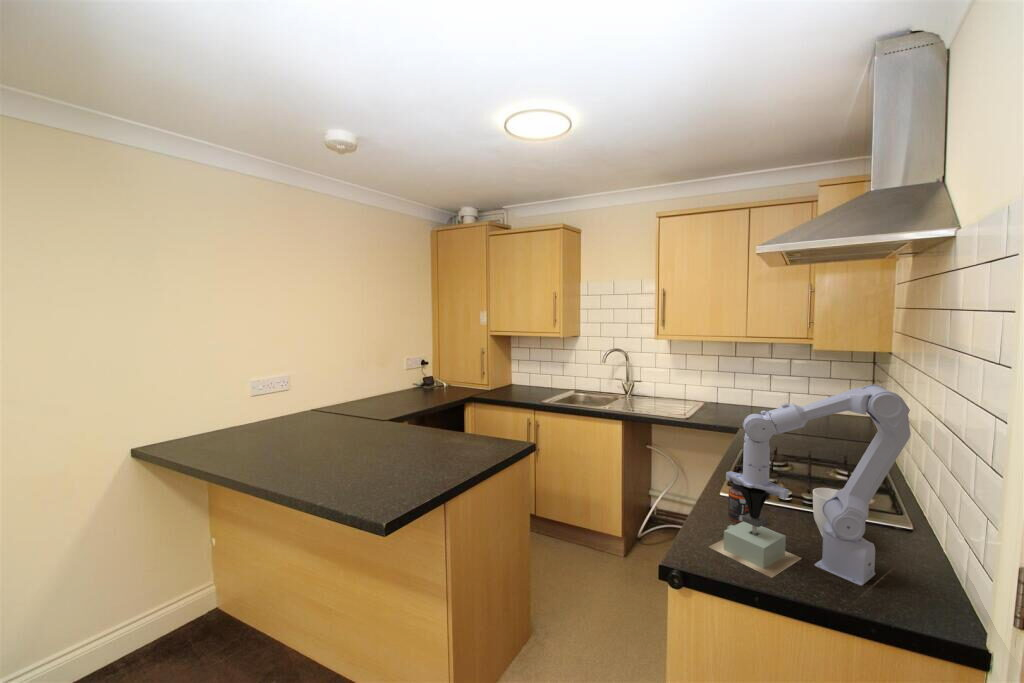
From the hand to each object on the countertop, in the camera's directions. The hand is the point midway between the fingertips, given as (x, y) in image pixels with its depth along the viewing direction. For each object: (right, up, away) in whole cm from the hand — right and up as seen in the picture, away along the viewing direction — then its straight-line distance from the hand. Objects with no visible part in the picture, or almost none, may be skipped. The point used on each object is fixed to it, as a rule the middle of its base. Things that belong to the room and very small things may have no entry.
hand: (754, 516), depth 112 cm
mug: (+26, -9, +9) cm, 29 cm away
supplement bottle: (+5, -8, +18) cm, 21 cm away
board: (0, -10, +1) cm, 10 cm away
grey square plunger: (0, -6, 0) cm, 6 cm away
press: (0, -9, +1) cm, 9 cm away
